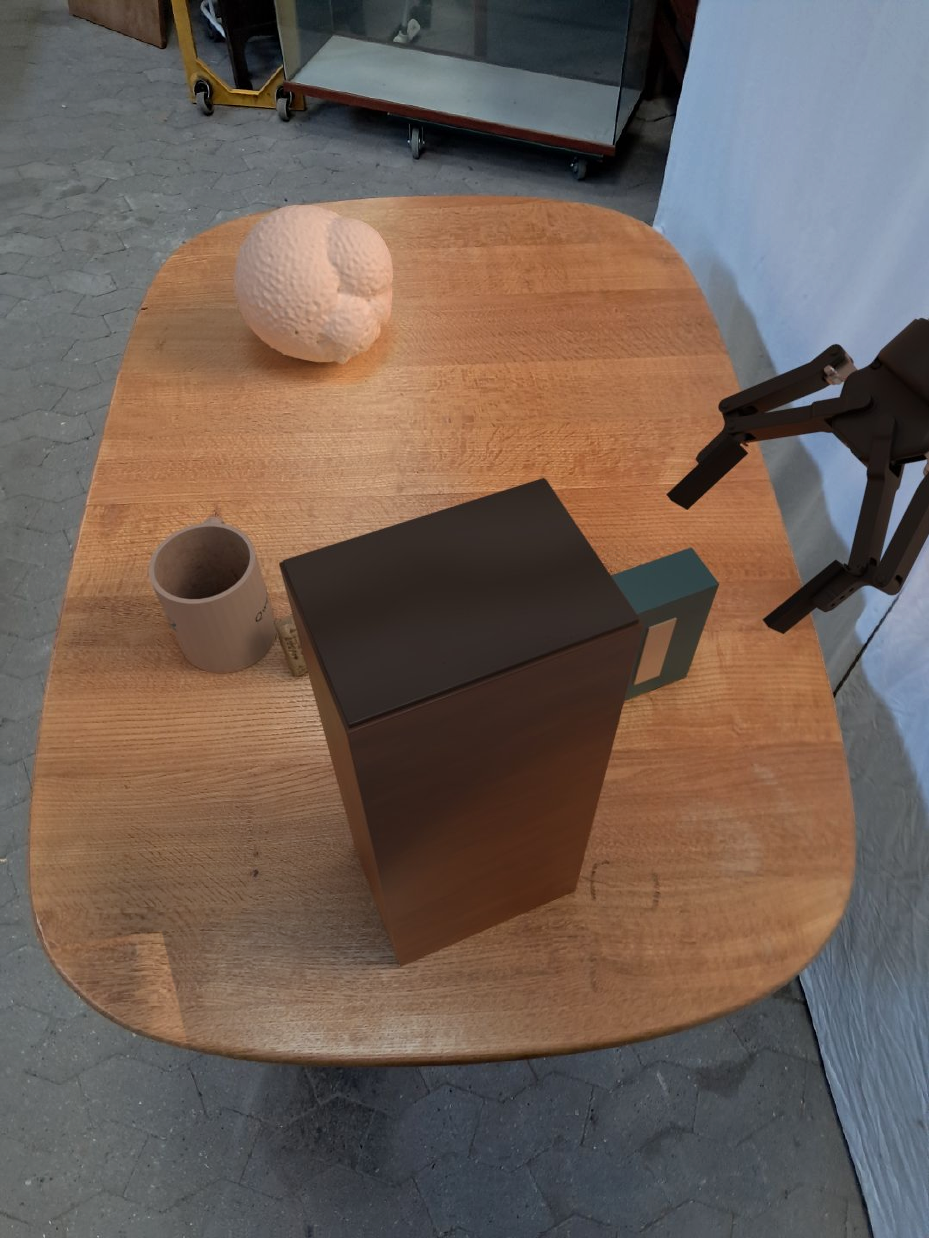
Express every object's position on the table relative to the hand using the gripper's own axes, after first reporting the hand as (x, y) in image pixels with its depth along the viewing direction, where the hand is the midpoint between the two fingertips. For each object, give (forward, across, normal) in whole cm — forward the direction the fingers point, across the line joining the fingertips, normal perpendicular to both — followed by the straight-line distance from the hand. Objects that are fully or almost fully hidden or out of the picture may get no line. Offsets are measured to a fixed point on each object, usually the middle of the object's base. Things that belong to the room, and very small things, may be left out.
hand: (721, 561), depth 70 cm
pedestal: (+27, -10, +10) cm, 31 cm away
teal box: (+13, 0, -4) cm, 14 cm away
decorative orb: (+20, +55, +2) cm, 59 cm away
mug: (+35, +20, +17) cm, 43 cm away
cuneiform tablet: (+28, +12, +10) cm, 32 cm away
